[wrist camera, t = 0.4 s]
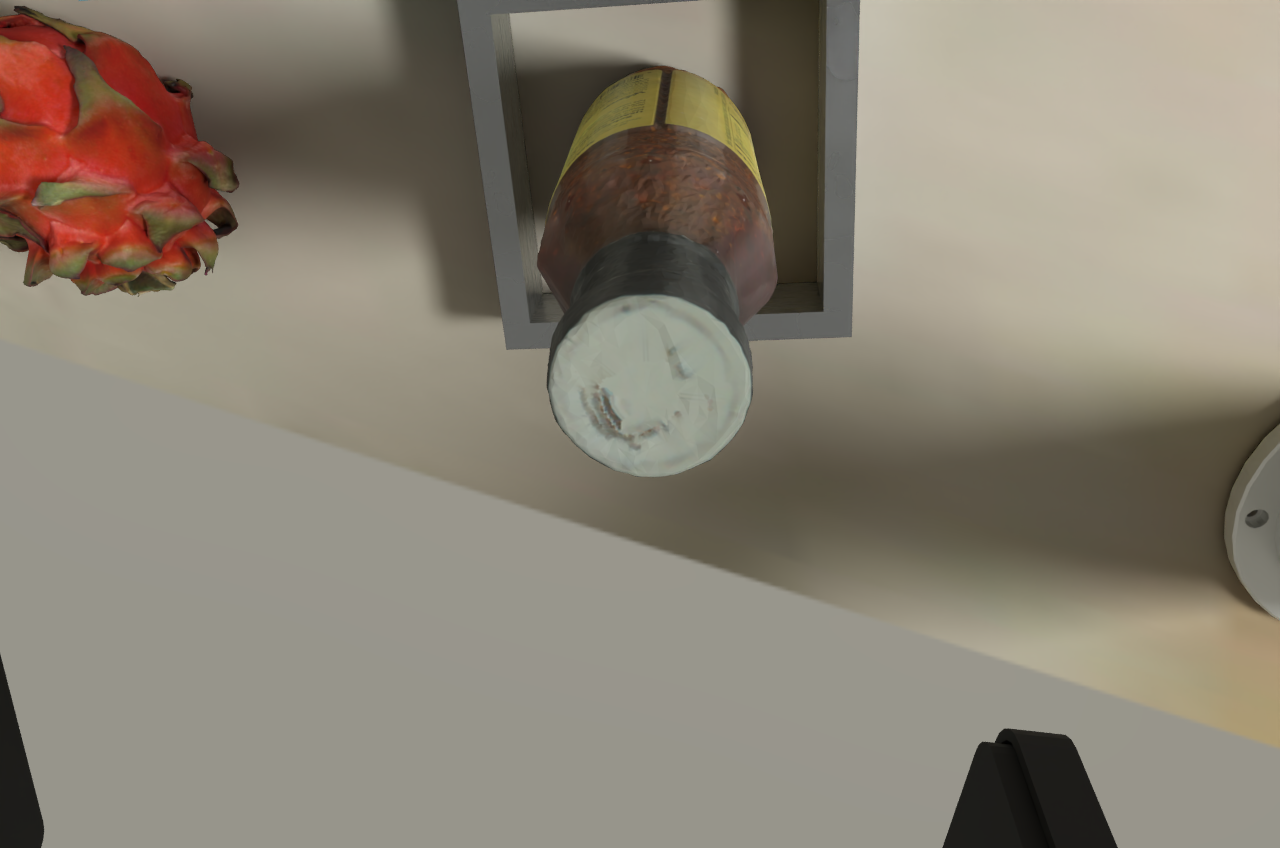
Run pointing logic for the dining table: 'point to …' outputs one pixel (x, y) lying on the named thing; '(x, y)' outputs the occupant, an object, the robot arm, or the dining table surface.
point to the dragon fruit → (102, 163)
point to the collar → (509, 197)
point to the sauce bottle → (656, 274)
